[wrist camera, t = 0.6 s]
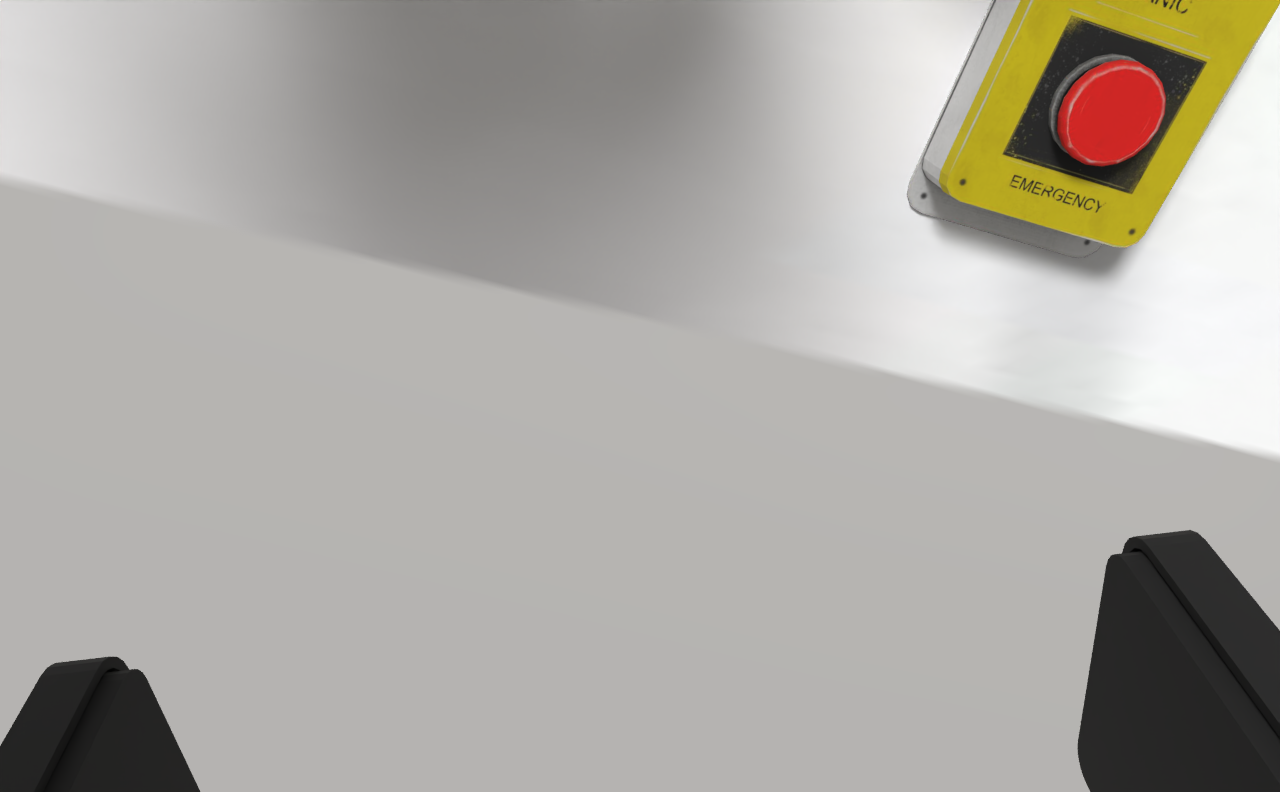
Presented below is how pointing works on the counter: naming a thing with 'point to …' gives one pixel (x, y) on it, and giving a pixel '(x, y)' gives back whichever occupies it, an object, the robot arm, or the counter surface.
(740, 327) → the counter surface
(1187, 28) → the emergency button
